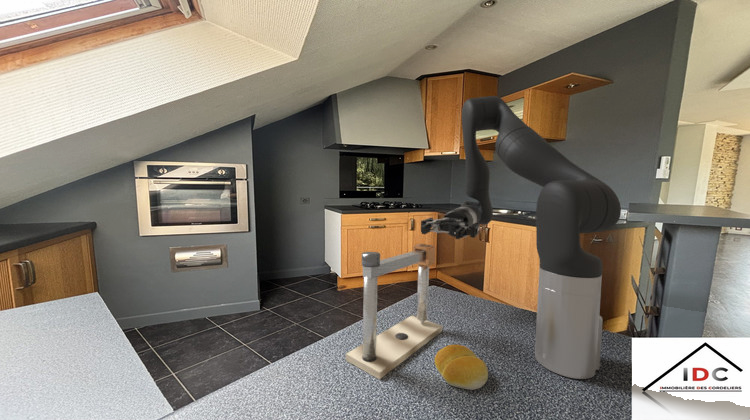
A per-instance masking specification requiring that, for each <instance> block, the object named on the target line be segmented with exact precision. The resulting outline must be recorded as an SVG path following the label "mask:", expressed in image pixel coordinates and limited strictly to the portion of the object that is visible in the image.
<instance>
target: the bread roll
mask: <svg viewBox="0 0 750 420" xmlns="http://www.w3.org/2000/svg"><path fill="white" fill-rule="evenodd" d="M433 360H434V365H435V367H436V370H437V371H438V373H439V374H440V375H441V377H442V378H443V379H444V381H445V382H446V383H447V384H448V385H449V386H452V387H455V388H459V389H465V390H471V391H472V390H477V389H480V388H482V387H484V386H485V384H486V383H487V381H488V380H489V379H488V377H489V376H488V375H489V369H488V367H487V364H486V363H485V362H484V361H483V360H482V359H481V358H479V357H478V356H477V354H475V353H474V351H472V350H471V349H470V348H468V347H467V346H464V345H461V344H449V345H446V346H444V347H442V348H441V349H440V350H438V351H437V353H436V354H435V356H434V359H433Z"/></svg>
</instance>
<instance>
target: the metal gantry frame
mask: <svg viewBox="0 0 750 420" xmlns="http://www.w3.org/2000/svg"><path fill="white" fill-rule="evenodd" d="M425 260H426V250H423V249H420V250H416V251H413V250H412V251H410V252H405V253H402V254H398V255H394V256H391V257H388V258H383V259H381V253H380V252H377V251H364V252H362V253H361V267H362V277H363V304H362V305H363V310H362V311H363V315H362V316H363V317H362V319H363V320H362V321H363V322H362V326H363V327H362V336H363V337H362V344H363V359H364V360H366V361H373V360H375V359H376V339H377V335H378V334H377V332H378V331H377V330H378V329H377V327H378V326H377V324H378V277H380V276H383V275H386V274H389V273H392V272H395V271H398V270H401V269H404V268H408V267H410V266H413V265H415V264H416V263H419V262H422V261H425Z"/></svg>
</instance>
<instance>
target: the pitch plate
mask: <svg viewBox="0 0 750 420" xmlns="http://www.w3.org/2000/svg"><path fill="white" fill-rule="evenodd" d="M442 332H443V325H441V324H438V323H435V322H432V321H429V320H426V321H424V323H422V322H420V320H418V319H417V316H416V315H410V316H409V317H406V318H405V319H403V320H402V321H400V322H398V323H397V324H394V325H393V326H391V327H389V328H388V329H386V330H385V331H383V332H381V333H379V334H377V339H376V359H375V360H373V361H366V360H364V359H363V343H362V344H360V345H359V346H357V347H355V348H354V349H351V350H350V351H348V352H347V353H345V361H346V362H348V363H350V364H351V365H353V366H355V367H357V368H359V369H361V370H362V371H364V372H365V373H367V374H369V375H371V376H373V377H374V378H377V379H378V380H381V379H382V378H383V377H385V376H386V375H387V374H388V373H390V372H392V371H393V370H394V369H395V368H396V367H398V366H399V365H400V364H402V362H403V363H404V361H406V360H407V359H408V358H409V357H410V356H412V355H413V354H415V353H416V352H417V351H418V350H420V349H421V348H422V347H424V346H425V345H426V344H427V343H429V342H430V341H431V340H433V339H434V338H435V337H437V336H438V335H440V333H442Z"/></svg>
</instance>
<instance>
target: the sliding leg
mask: <svg viewBox="0 0 750 420" xmlns="http://www.w3.org/2000/svg"><path fill="white" fill-rule="evenodd" d="M420 249H423V250H426V260H425V261H422V262H419V263H416V264H417V268H418V269H417V270H418V271H417V297H416V298H417V299H416V300H417V303H416V304H417V305H416V317H417V319H418V320H420V322H422V323H424V321H426V320H427V321H429V320H428V319H429V317H428V315H429V290H430V289H429V287H430V286H429V285H430V283H429V282H430V281H429V277H430V266H431V265H434V264H435V263H436V246H435V245H433V244H427V243H425V244H424V243H418V244H414V245H413V246H412V251H416V250H420Z"/></svg>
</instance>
